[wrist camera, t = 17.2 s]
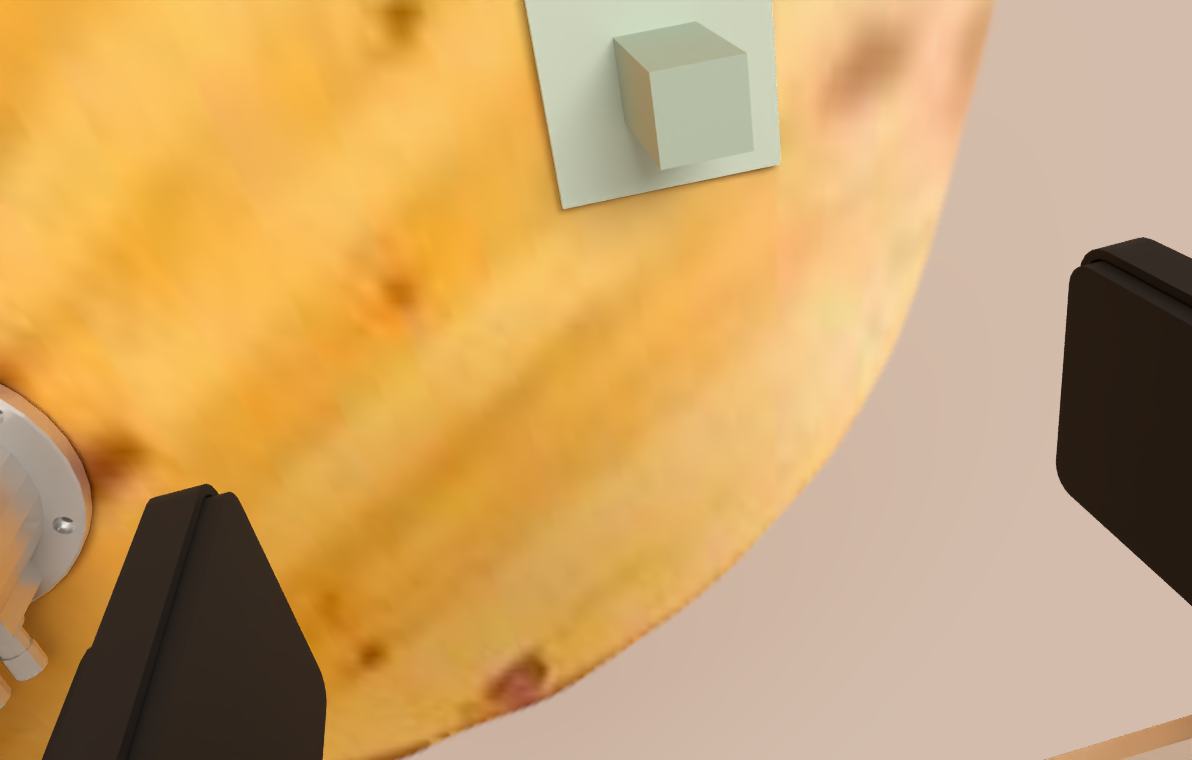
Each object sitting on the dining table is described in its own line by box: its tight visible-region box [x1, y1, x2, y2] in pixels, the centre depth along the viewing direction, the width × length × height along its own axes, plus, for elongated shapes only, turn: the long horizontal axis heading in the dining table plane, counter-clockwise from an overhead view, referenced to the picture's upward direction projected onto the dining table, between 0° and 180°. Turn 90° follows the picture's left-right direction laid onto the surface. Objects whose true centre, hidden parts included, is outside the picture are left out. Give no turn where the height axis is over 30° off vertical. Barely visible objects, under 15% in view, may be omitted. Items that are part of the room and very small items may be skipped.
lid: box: [524, 0, 781, 209], centre depth 30 cm, size 14×9×7 cm, turn 9°
